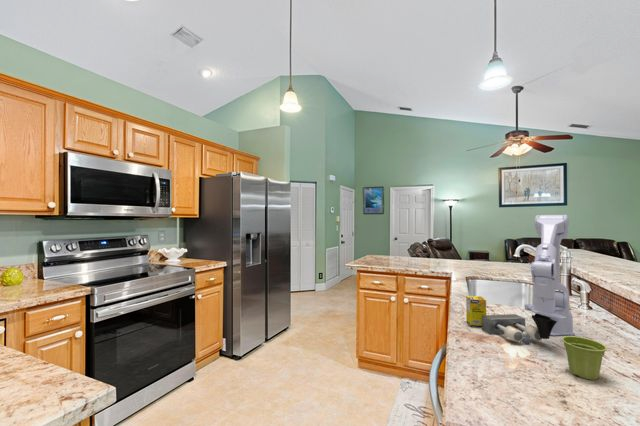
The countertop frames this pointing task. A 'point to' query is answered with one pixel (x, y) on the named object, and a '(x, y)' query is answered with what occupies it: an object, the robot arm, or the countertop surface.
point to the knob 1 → (511, 332)
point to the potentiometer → (525, 339)
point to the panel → (501, 322)
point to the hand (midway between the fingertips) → (544, 338)
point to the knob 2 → (530, 331)
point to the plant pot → (584, 356)
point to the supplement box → (475, 310)
